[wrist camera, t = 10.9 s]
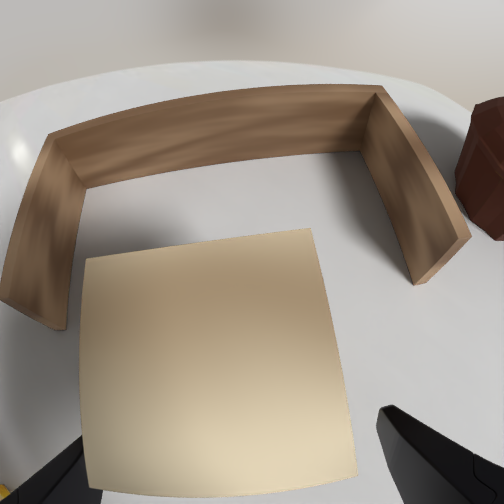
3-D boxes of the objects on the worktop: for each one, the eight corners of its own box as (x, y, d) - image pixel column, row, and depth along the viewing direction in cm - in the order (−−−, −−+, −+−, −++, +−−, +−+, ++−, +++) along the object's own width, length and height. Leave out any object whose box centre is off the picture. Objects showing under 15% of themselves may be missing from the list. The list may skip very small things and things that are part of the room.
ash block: (296, 429, 15) (358, 475, 4) (204, 439, 15) (89, 487, 4) (283, 343, 17) (310, 227, 6) (195, 354, 17) (86, 258, 6)
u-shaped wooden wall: (425, 282, 18) (471, 236, 13) (54, 330, 18) (-3, 298, 12) (366, 142, 24) (381, 85, 19) (79, 182, 24) (48, 134, 18)
